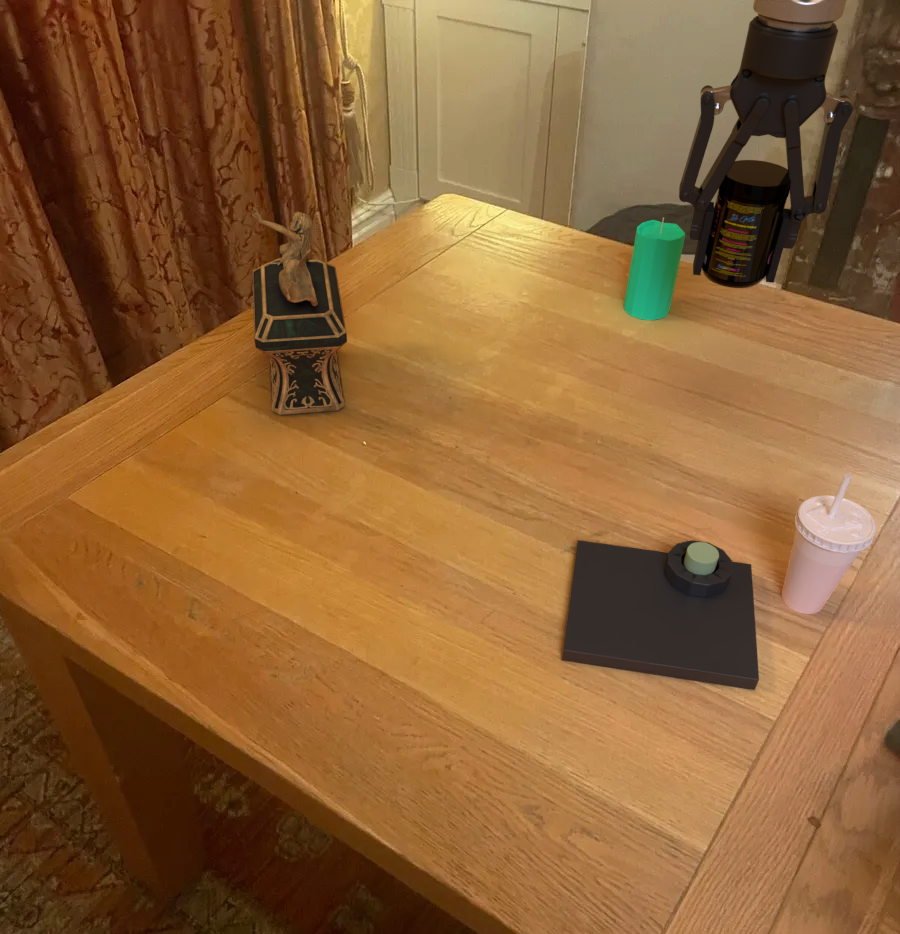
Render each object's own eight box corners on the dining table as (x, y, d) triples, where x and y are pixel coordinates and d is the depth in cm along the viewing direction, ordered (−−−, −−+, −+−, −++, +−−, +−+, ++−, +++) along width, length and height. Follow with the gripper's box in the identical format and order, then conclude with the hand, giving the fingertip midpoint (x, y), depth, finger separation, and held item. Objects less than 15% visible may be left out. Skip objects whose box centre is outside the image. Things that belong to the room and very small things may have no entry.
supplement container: (769, 292, 93) (799, 188, 85) (703, 288, 93) (726, 184, 86) (760, 262, 97) (787, 161, 90) (696, 259, 98) (718, 158, 90)
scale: (747, 572, 85) (755, 548, 82) (754, 690, 75) (764, 667, 73) (576, 548, 86) (580, 524, 84) (561, 660, 76) (565, 637, 74)
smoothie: (768, 568, 85) (814, 446, 75) (839, 583, 84) (895, 461, 74) (764, 616, 81) (813, 493, 71) (839, 632, 79) (899, 510, 69)
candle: (665, 323, 117) (684, 231, 108) (619, 315, 118) (634, 223, 109) (672, 302, 121) (691, 211, 112) (628, 294, 122) (643, 204, 113)
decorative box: (261, 347, 110) (237, 181, 96) (340, 341, 112) (328, 177, 98) (265, 444, 97) (238, 267, 83) (355, 436, 98) (343, 261, 84)
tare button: (714, 556, 82) (718, 544, 81) (715, 577, 80) (719, 565, 79) (683, 552, 82) (687, 539, 81) (683, 573, 80) (687, 560, 79)
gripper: (679, 22, 77) (636, 279, 94) (921, 38, 75) (833, 299, 91) (681, 1, 82) (639, 248, 99) (906, 15, 80) (826, 266, 96)
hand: (732, 272), depth 95 cm, fingers closed on supplement container, 7 cm apart
